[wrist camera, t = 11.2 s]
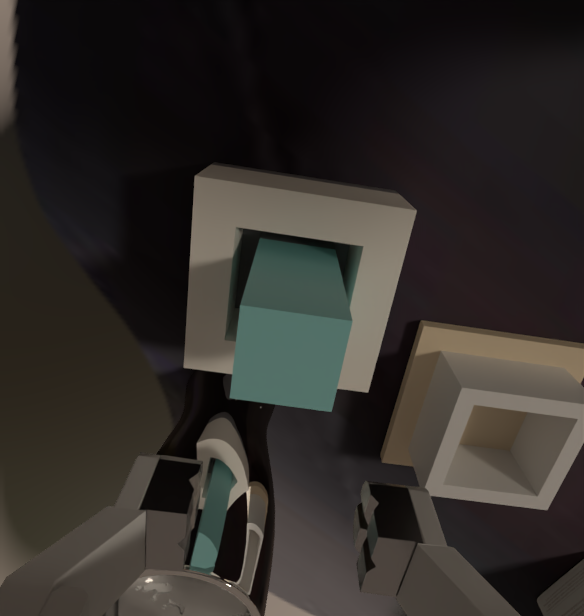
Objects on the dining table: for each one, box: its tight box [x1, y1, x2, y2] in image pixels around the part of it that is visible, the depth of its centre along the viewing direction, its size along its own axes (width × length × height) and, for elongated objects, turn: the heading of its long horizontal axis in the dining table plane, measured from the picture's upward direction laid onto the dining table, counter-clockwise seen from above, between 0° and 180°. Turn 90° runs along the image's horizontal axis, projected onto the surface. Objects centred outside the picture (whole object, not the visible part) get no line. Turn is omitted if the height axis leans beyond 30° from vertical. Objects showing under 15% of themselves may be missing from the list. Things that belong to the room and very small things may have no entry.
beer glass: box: [102, 369, 275, 616], centre depth 24 cm, size 7×7×15 cm
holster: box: [380, 320, 584, 510], centre depth 28 cm, size 11×11×5 cm
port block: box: [184, 162, 417, 393], centre depth 24 cm, size 10×10×5 cm
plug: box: [230, 231, 353, 412], centre depth 21 cm, size 4×4×10 cm
